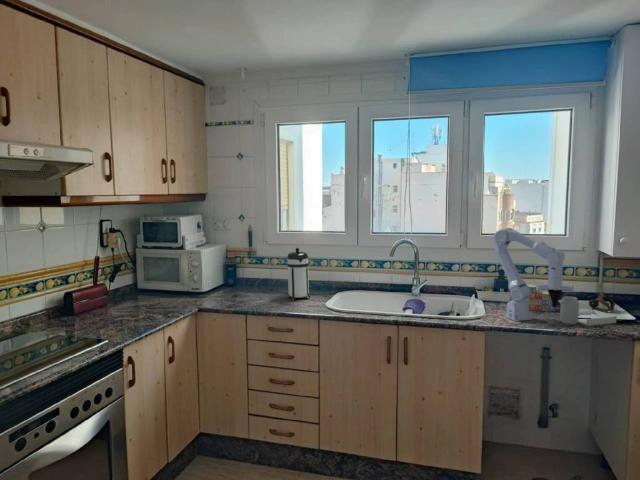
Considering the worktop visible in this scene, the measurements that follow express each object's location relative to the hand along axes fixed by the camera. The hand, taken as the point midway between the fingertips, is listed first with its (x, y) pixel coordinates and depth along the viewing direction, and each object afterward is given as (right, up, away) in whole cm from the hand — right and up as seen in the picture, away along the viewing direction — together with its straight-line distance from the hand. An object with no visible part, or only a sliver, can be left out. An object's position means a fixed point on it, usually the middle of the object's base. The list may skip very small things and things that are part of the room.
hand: (554, 306), depth 214 cm
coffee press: (-120, -4, +66) cm, 137 cm away
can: (+8, -8, +3) cm, 12 cm away
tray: (+20, -7, +5) cm, 22 cm away
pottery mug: (+34, -5, +22) cm, 41 cm away
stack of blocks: (+2, -6, +28) cm, 29 cm away
